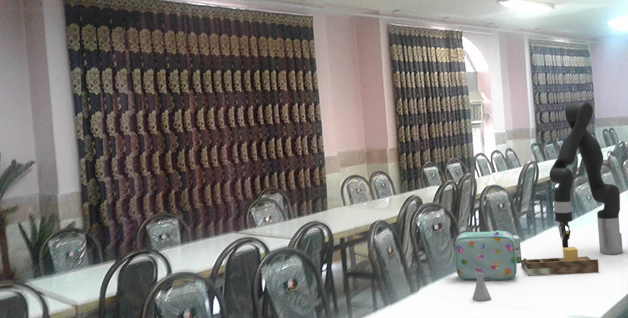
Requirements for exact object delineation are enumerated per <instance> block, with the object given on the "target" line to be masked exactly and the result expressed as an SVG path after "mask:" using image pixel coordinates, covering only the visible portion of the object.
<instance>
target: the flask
mask: <svg viewBox="0 0 628 318" xmlns="http://www.w3.org/2000/svg"><path fill="white" fill-rule="evenodd" d="M476 276H477V279H476V284H475V289H474V292H473V295H472V300H474V301H476V302H486V301H491V300H492V297H491V294H490V292H489V290H488V288H487V286H486V283H485V280H484V277H483V276H484V274H483V273H477V274H476Z"/></svg>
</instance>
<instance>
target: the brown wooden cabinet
mask: <svg viewBox="0 0 628 318" xmlns="http://www.w3.org/2000/svg"><path fill="white" fill-rule="evenodd" d="M520 264H521V265H520V266H521V267H522V269H523V270H524V271H525V273H526V275H527V276H528V277H531V276H532V277H533V276H549V275H550V276H551V274H556V275H574V274H576V275H577V274H593V273H599V259H595V258H594V259H592V258H590V257H589V256H578V260H574V261H566V260H565V259H564V257H552V258H533V259H527V258H526V257H523V259H521V262H520Z"/></svg>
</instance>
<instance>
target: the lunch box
mask: <svg viewBox="0 0 628 318" xmlns="http://www.w3.org/2000/svg"><path fill="white" fill-rule="evenodd" d="M515 249H516V248H515V244H514V238H513V234H512V233H511V232H509V231H507V230H499V229H497V230H495V231H494V230H492V231H475V232H474V231H465V232H461V233H459V234H458V235H457V237H456V240H455V243H454V256H455V267H456V274H457V276H458V277H459V278H460V279H462V280H477V276H476V274H477V273H483V274H484V276H483V277H484V281H493V280H494V281H496V280H502V281H503V280H504V281H505V280H511V279H514V278H515V277H516V275H517V271H518V270H517V269H518V267H517V264H518V263H516V254H517V255H518V253H517V251H515ZM518 256H519V255H518Z"/></svg>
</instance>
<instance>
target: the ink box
mask: <svg viewBox="0 0 628 318" xmlns="http://www.w3.org/2000/svg"><path fill="white" fill-rule="evenodd" d="M512 236H513V238H514V244H515V248H516V249H515V251H517V253H518V255H519V256H518V255H517V254H516V263H517V264H518V263H520V264H521V260H522V252H521V251H522V249H521V248H522V247H521V239H520V237H519V235H518V234H517V235H513V234H512Z"/></svg>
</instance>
